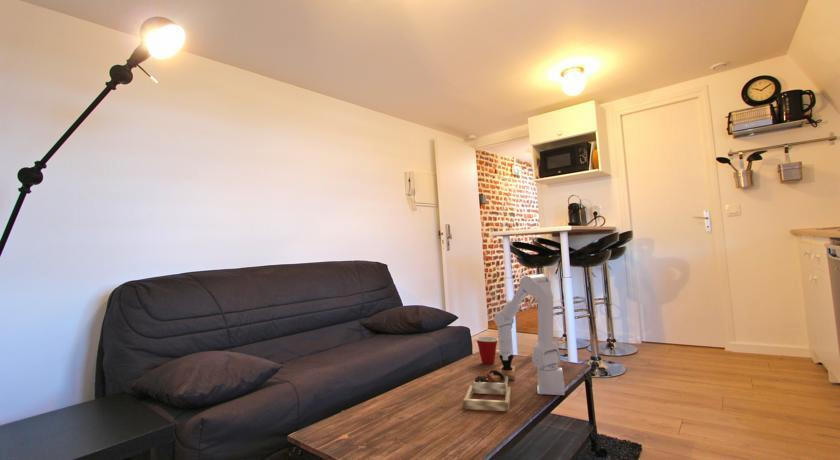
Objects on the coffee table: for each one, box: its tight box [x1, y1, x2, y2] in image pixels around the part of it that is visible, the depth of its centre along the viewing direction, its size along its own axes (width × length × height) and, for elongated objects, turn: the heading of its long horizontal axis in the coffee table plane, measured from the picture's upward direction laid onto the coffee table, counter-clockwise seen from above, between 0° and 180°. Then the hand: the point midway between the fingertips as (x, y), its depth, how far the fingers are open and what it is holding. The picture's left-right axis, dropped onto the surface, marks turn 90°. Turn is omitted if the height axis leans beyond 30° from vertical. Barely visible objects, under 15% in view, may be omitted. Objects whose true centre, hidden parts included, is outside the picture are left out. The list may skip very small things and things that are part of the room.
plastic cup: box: [475, 336, 499, 366], centre depth 188 cm, size 11×11×12 cm
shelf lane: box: [462, 384, 512, 412], centre depth 142 cm, size 15×16×3 cm
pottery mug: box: [474, 369, 505, 383], centre depth 152 cm, size 12×10×8 cm
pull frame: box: [472, 366, 516, 396], centre depth 158 cm, size 15×23×4 cm, turn 164°
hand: (507, 372), depth 166 cm, fingers closed
